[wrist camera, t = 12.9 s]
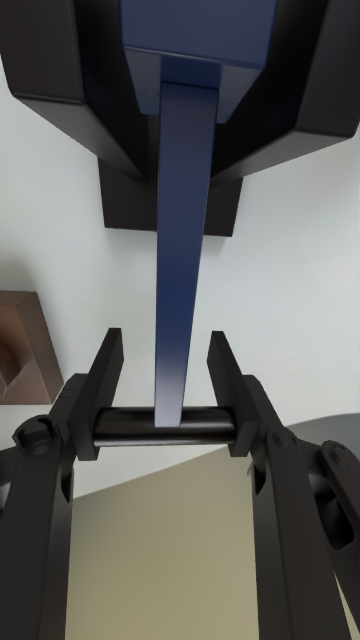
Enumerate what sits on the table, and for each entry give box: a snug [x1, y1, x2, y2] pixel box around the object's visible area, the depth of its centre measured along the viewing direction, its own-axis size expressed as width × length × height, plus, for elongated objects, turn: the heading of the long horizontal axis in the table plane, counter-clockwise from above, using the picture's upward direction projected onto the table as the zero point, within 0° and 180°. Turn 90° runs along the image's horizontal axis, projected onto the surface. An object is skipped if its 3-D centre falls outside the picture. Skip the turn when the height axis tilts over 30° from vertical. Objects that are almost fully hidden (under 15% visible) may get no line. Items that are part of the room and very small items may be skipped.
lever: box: [93, 0, 278, 447], centre depth 6 cm, size 14×6×2 cm, turn 176°
